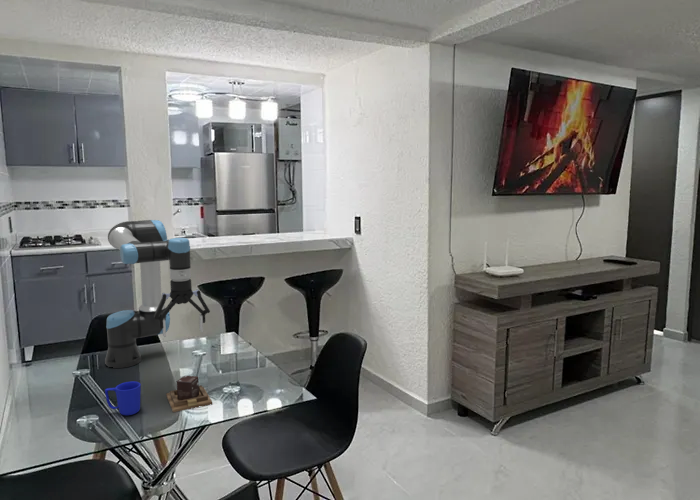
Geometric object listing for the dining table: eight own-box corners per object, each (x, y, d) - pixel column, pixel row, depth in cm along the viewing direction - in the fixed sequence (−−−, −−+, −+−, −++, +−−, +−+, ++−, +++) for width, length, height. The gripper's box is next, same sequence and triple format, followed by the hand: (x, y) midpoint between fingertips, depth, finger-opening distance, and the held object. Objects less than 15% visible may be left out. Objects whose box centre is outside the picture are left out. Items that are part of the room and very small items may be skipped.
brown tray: (166, 395, 199) (166, 389, 198) (203, 388, 205) (203, 382, 205) (172, 412, 185) (172, 405, 184) (212, 404, 191) (212, 397, 191)
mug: (111, 408, 188) (109, 382, 187) (145, 406, 189) (143, 380, 188) (102, 418, 180) (100, 391, 179) (138, 416, 181) (136, 389, 180)
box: (191, 401, 191) (190, 382, 190) (177, 400, 193) (175, 381, 192) (199, 394, 197) (198, 376, 196) (185, 393, 199) (184, 375, 198)
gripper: (146, 284, 185) (149, 341, 188) (216, 278, 196) (218, 331, 200) (144, 280, 192) (147, 335, 195) (212, 274, 203) (213, 326, 206)
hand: (183, 333), depth 197 cm, fingers open, 13 cm apart
